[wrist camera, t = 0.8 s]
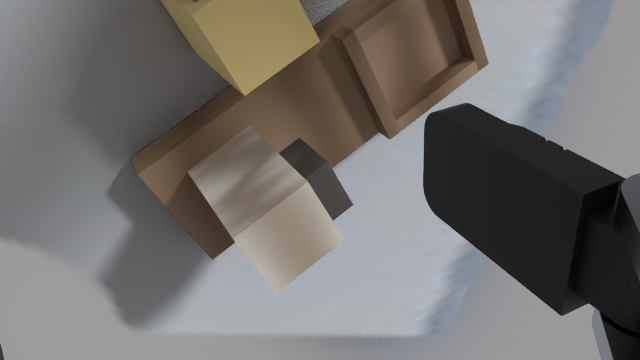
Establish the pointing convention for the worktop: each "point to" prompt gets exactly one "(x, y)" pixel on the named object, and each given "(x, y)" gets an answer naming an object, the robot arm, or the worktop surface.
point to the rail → (308, 131)
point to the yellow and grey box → (244, 36)
